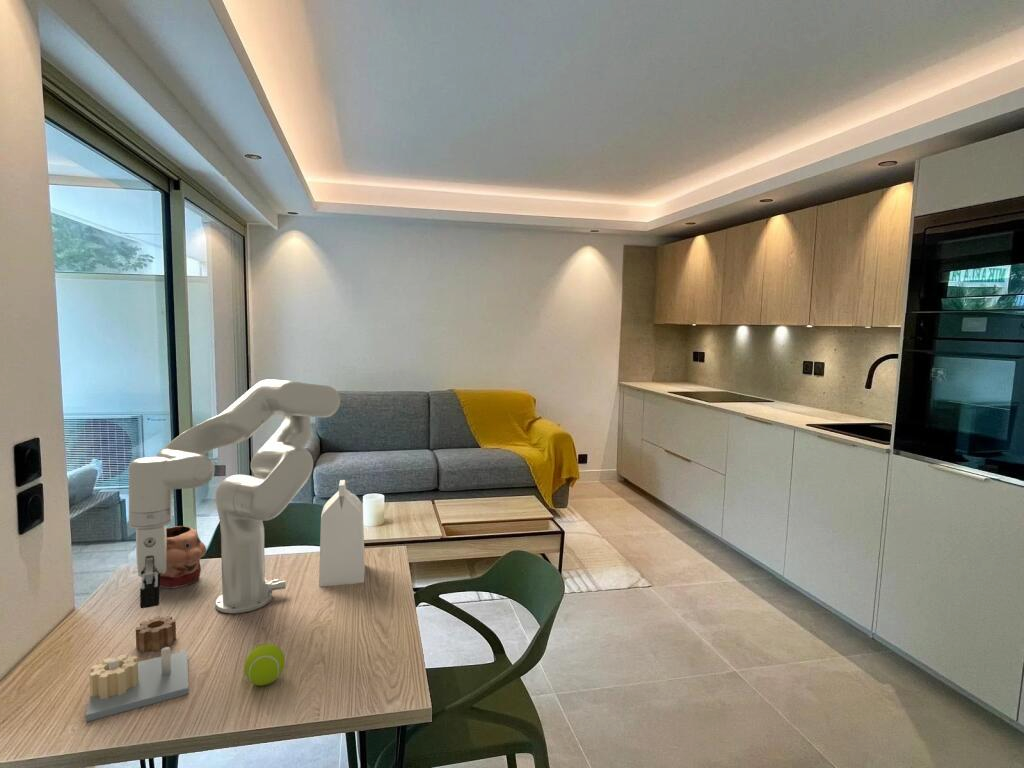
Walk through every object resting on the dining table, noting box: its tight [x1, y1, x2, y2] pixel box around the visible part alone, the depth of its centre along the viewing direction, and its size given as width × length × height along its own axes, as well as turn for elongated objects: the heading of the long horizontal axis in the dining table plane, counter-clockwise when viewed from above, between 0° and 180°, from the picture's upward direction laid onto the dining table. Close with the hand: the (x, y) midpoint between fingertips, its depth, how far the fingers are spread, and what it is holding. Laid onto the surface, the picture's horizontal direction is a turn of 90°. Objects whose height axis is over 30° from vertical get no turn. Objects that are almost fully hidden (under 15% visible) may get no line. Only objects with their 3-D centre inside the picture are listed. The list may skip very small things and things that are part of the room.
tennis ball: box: [243, 643, 286, 686], centre depth 105 cm, size 7×7×7 cm
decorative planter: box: [160, 525, 207, 589], centre depth 148 cm, size 20×12×14 cm, turn 73°
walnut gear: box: [135, 615, 177, 653], centre depth 118 cm, size 7×7×4 cm
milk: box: [318, 479, 366, 587], centre depth 152 cm, size 12×12×26 cm
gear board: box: [85, 646, 190, 723], centre depth 104 cm, size 15×14×6 cm
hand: (150, 597), depth 117 cm, fingers open, 9 cm apart
